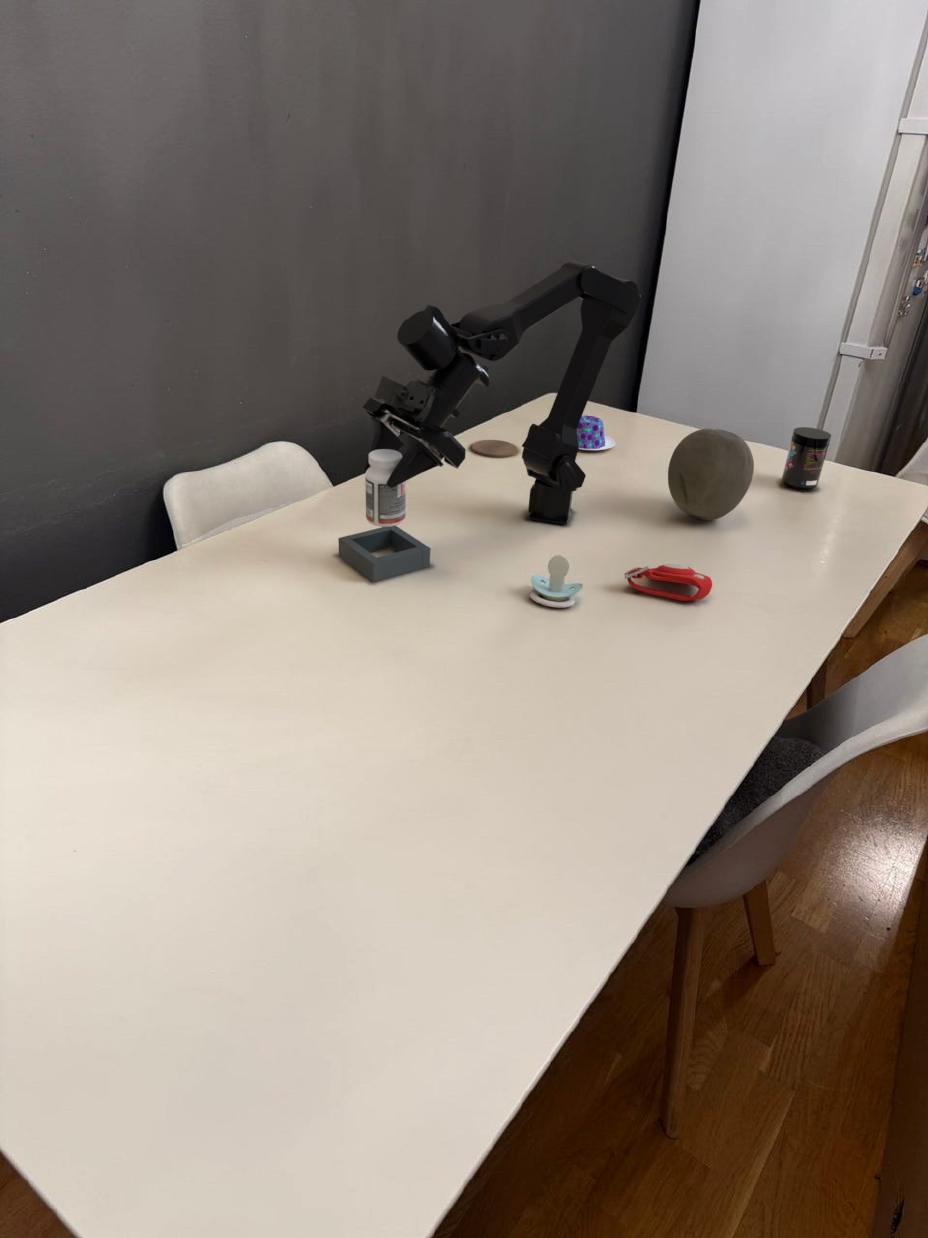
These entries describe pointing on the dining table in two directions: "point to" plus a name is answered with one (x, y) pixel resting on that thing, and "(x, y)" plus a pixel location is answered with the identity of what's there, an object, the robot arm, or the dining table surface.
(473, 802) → the dining table surface
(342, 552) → the bottle stand
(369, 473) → the pill bottle
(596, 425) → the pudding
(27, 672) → the dining table surface
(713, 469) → the grey brown round stone
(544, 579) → the pacifier
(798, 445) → the supplement container
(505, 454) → the coaster
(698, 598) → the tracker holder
